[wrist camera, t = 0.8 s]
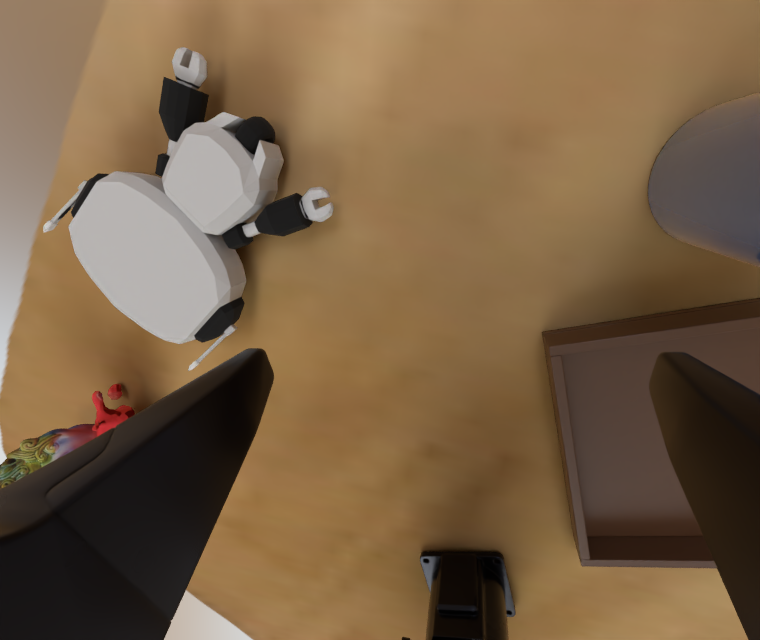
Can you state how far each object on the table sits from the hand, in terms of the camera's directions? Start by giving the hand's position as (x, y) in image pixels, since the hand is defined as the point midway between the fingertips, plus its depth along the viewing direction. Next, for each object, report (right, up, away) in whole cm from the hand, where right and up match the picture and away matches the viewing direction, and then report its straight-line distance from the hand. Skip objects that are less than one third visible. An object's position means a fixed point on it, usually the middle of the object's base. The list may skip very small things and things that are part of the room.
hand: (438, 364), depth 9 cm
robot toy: (-12, +8, +16) cm, 21 cm away
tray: (+17, -6, +14) cm, 23 cm away
